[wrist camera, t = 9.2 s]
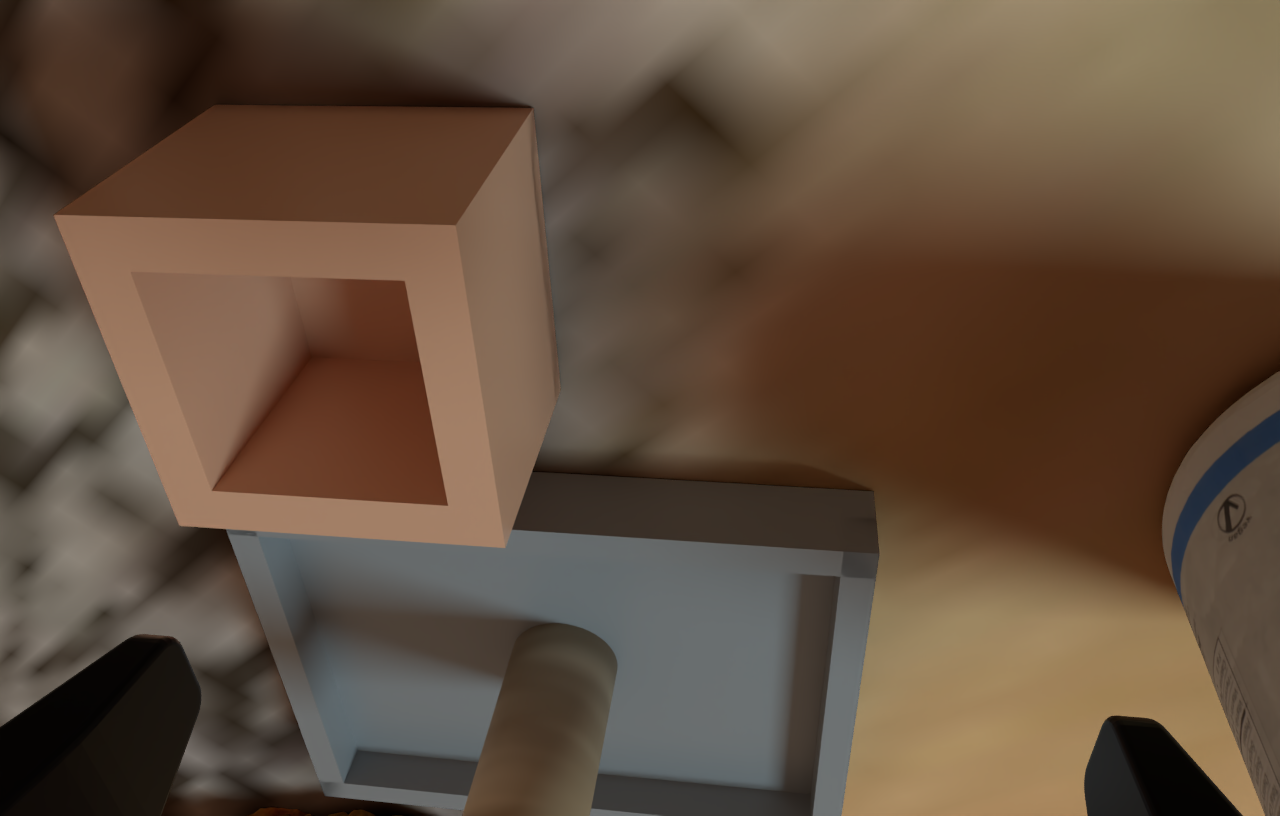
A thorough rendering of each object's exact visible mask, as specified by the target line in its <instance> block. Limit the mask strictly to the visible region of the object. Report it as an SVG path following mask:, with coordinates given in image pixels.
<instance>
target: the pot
mask: <svg viewBox="0 0 1280 816" xmlns="http://www.w3.org/2000/svg"><path fill="white" fill-rule="evenodd" d="M54 218H55V220H56V223H57V225H58V228H59V230H60V233H61V235H62V238H63V240H64V243H65V245H66V247H67V250H68V252H69V255H70V257H71V260H72V262H73V265H74V267H75V270H76V272H77V275H78V277H79V279H80V282H81V284H82V287H83V289H84V292H85V294H86V297H87V299H88V302H89V304H90V307H91V309H92V311H93V314H94V316H95V319H96V321H97V324H98V326H99V329H100V331H101V334H102V336H103V339H104V341H105V343H106V346H107V348H108V351H109V353H110V356H111V358H112V361H113V363H114V366H115V368H116V371H117V373H118V375H119V378H120V380H121V383H122V385H123V388H124V390H125V393H126V395H127V398H128V400H129V403H130V405H131V407H132V410H133V412H134V415H135V417H136V420H137V422H138V425H139V427H140V430H141V432H142V435H143V437H144V439H145V442H146V444H147V447H148V449H149V452H150V454H151V457H152V459H153V462H154V464H155V467H156V469H157V471H158V474H159V476H160V479H161V481H162V484H163V486H164V489H165V491H166V494H167V496H168V499H169V501H170V503H171V506H172V508H173V511H174V513H175V516H176V518H177V521H178V523H179V526H189V527H204V528H219V529H233V530H248V531H263V532H277V533H292V534H307V535H321V536H336V537H351V538H365V539H380V540H395V541H409V542H424V543H439V544H453V545H468V546H483V547H497V548H506V545H507V542H508V539H509V536H510V533H511V531H512V528H513V525H514V522H515V519H516V516H517V513H518V511H519V508H520V505H521V502H522V499H523V496H524V493H525V490H526V488H527V485H528V482H529V479H530V476H531V473H532V470H533V468H534V465H535V462H536V459H537V456H538V453H539V450H540V448H541V445H542V442H543V439H544V436H545V433H546V430H547V428H548V425H549V422H550V419H551V416H552V413H553V410H554V408H555V405H556V402H557V399H558V396H559V393H560V390H561V386H560V376H559V365H558V355H557V345H556V335H555V324H554V314H553V304H552V293H551V283H550V273H549V262H548V252H547V242H546V231H545V221H544V211H543V201H542V190H541V180H540V170H539V159H538V149H537V139H536V128H535V118H534V108H502V107H403V106H304V105H213V106H212V107H210V108H209V109H207V110H206V111H205V112H203V113H202V114H200V115H199V116H197V117H196V118H194V119H193V120H191V121H190V122H188V123H187V124H186V125H184V126H183V127H181V128H180V129H178V130H177V131H175V132H174V133H172V134H171V135H169V136H168V137H167V138H165V139H164V140H162V141H161V142H159V143H158V144H156V145H155V146H153V147H152V148H150V149H149V150H148V151H146V152H145V153H143V154H142V155H140V156H139V157H137V158H136V159H134V160H133V161H131V162H130V163H128V164H127V165H126V166H124V167H123V168H121V169H120V170H118V171H117V172H115V173H114V174H112V175H111V176H109V177H108V178H107V179H105V180H104V181H102V182H101V183H99V184H98V185H96V186H95V187H93V188H92V189H90V190H89V191H88V192H86V193H85V194H83V195H82V196H80V197H79V198H77V199H76V200H74V201H73V202H71V203H70V204H68V205H67V206H66V207H64V208H63V209H61V210H60V211H58V212H57V213H55V214H54Z"/></svg>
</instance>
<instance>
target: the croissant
mask: <svg viewBox="0 0 1280 816" xmlns="http://www.w3.org/2000/svg"><path fill="white" fill-rule="evenodd" d="M247 816H311V814H308V813H304V812H302V811H300V810H298V809H285V808H276V807H268V808H260V809H259V810H258V811H256V812H255V813H254V814H250V815H247ZM328 816H376V815H374V814H371V813H369V812H367V811H365V810H360V809H359V810H353V811H352V812H351V813H350V814H349V815H348V814H347V813H345V812H340V813H335V814H330V815H328ZM394 816H402V815H394Z"/></svg>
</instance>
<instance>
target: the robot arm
mask: <svg viewBox="0 0 1280 816" xmlns="http://www.w3.org/2000/svg"><path fill="white" fill-rule="evenodd" d="M200 705H201V689H200V685H199V683H198V681H197V678H196V676H195V674H194V672H193V669H192V667H191V665H190V663H189V660H188V658H187V656H186V654H185V652H184V649H183V647H182V645H181V644H180V642H179V641H178V640H177V639H175V638H174V637H170V636H159V635H148V634H140V635H135V636H133V637H130V638H128V639H127V640H125V641H124V642H122V643H121V644H119V645H118V646H116V647H115V648H114V649H112V650H111V651H109V652H108V653H106V654H105V655H103V656H102V657H101V658H99V659H98V660H96V661H95V662H93V663H92V664H90V665H89V666H88V667H86V668H85V669H83V670H82V671H80V672H79V673H78V674H76V675H75V676H73V677H72V678H70V679H69V680H67V681H66V682H65V683H63V684H62V685H60V686H59V687H57V688H56V689H54V690H53V691H52V692H50V693H49V694H47V695H46V696H44V697H43V698H41V699H40V700H39V701H37V702H36V703H34V704H33V705H31V706H30V707H29V708H27V709H26V710H24V711H23V712H21V713H20V714H18V715H17V716H16V717H14V718H13V719H11V720H10V721H8V722H7V723H5V724H4V725H3V726H1V727H0V816H161V815H162V812H163V809H164V807H165V804H166V801H167V798H168V796H169V793H170V790H171V787H172V785H173V782H174V779H175V777H176V774H177V771H178V768H179V766H180V763H181V760H182V757H183V755H184V752H185V749H186V746H187V744H188V741H189V738H190V736H191V733H192V730H193V727H194V725H195V722H196V719H197V716H198V713H199V710H200ZM1084 790H1085V800H1086V807H1087V814H1088V816H1243V815H1242V814H1241V813H1240V812H1239V811H1238V810H1237V809H1236V808H1235V806H1234V805H1233V804H1232V803H1231V802H1230V801H1229V800H1228V799H1227V797H1226V796H1225V795H1224V794H1223V793H1222V792H1221V791H1220V790H1219V788H1218V787H1217V786H1216V785H1215V784H1214V783H1213V782H1212V780H1211V779H1210V778H1209V777H1208V776H1207V775H1206V774H1205V773H1204V771H1203V770H1202V769H1201V768H1200V767H1199V766H1198V765H1197V764H1196V762H1195V761H1194V760H1193V759H1192V758H1191V757H1190V756H1189V755H1188V753H1187V752H1186V751H1185V750H1184V749H1183V748H1182V747H1181V746H1180V744H1179V743H1178V742H1177V741H1176V740H1175V739H1174V738H1173V737H1172V735H1171V734H1170V733H1169V732H1168V731H1167V730H1166V729H1165V728H1164V727H1163V726H1162V725H1161V724H1160V723H1158V722H1157V721H1155V720H1152V719H1148V718H1139V717H1127V716H1110V717H1109V718H1107V719H1106V720H1105V721H1104V723H1103V725H1102V727H1101V730H1100V733H1099V735H1098V738H1097V741H1096V743H1095V746H1094V749H1093V751H1092V754H1091V757H1090V759H1089V762H1088V765H1087V768H1086V772H1085V780H1084Z"/></svg>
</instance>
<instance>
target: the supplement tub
mask: <svg viewBox="0 0 1280 816" xmlns="http://www.w3.org/2000/svg"><path fill="white" fill-rule="evenodd" d="M1162 540H1163V549H1164V554H1165V559H1166V563H1167V566H1168V569H1169V572H1170V574H1171V577H1172V579H1173V582H1174V584H1175V587H1176V589H1177V592H1178V595H1179V597H1180V600H1181V602H1182V604H1183V607H1184V609H1185V612H1186V615H1187V617H1188V620H1189V623H1190V625H1191V628H1192V630H1193V633H1194V636H1195V638H1196V641H1197V643H1198V645H1199V648H1200V650H1201V653H1202V655H1203V658H1204V661H1205V663H1206V666H1207V669H1208V671H1209V674H1210V676H1211V679H1212V682H1213V684H1214V687H1215V689H1216V692H1217V694H1218V697H1219V700H1220V702H1221V705H1222V707H1223V710H1224V713H1225V715H1226V718H1227V720H1228V723H1229V725H1230V728H1231V730H1232V733H1233V735H1234V738H1235V740H1236V742H1237V745H1238V747H1239V750H1240V752H1241V755H1242V757H1243V760H1244V762H1245V765H1246V767H1247V770H1248V773H1249V775H1250V778H1251V780H1252V783H1253V785H1254V788H1255V791H1256V793H1257V796H1258V798H1259V801H1260V803H1261V806H1262V808H1263V811H1264V813H1265V816H1280V371H1279V372H1277V373H1275V374H1274V375H1272V376H1271V377H1269V378H1268V379H1267V380H1265V381H1264V382H1262V383H1261V384H1259V385H1258V386H1256V387H1255V388H1254V389H1252V390H1251V391H1249V392H1248V393H1247V394H1245V395H1244V396H1243V397H1242V398H1240V399H1239V400H1238V401H1236V402H1235V403H1234V404H1233V405H1232V406H1230V407H1229V408H1228V409H1227V410H1226V411H1225V412H1224V413H1222V414H1221V415H1220V416H1219V417H1218V418H1217V419H1216V420H1215V421H1214V422H1213V423H1212V424H1211V425H1210V426H1209V427H1208V429H1207V430H1206V431H1205V432H1204V433H1203V434H1202V435H1201V436H1200V438H1199V439H1198V440H1197V441H1196V442H1195V444H1194V445H1193V446H1192V447H1191V448H1190V450H1189V451H1188V453H1187V454H1186V456H1185V457H1184V459H1183V461H1182V463H1181V465H1180V467H1179V468H1178V470H1177V472H1176V474H1175V476H1174V478H1173V481H1172V483H1171V486H1170V489H1169V491H1168V494H1167V498H1166V502H1165V506H1164V512H1163V519H1162Z"/></svg>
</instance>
